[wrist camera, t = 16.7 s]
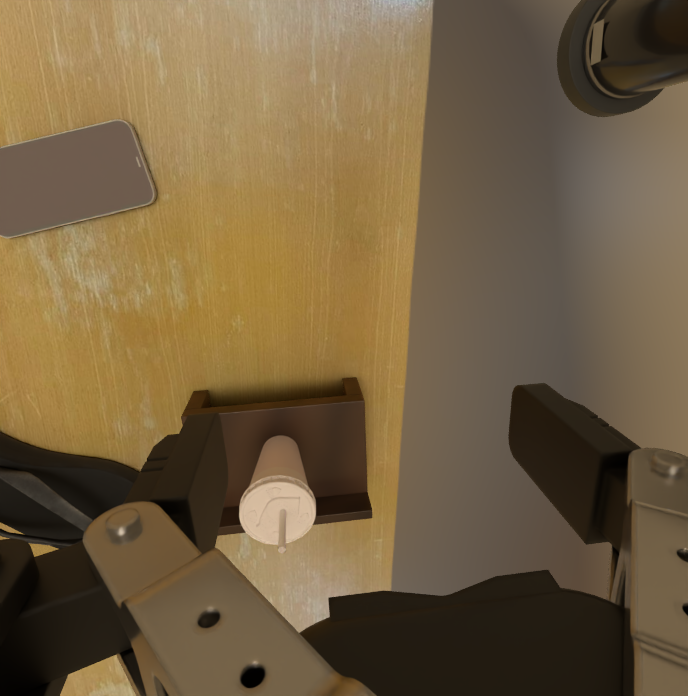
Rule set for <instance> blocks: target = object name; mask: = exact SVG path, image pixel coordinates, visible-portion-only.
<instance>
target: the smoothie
mask: <svg viewBox="0 0 688 696" xmlns="http://www.w3.org/2000/svg"><path fill="white" fill-rule="evenodd" d="M315 516H316V500H315V497H314V495H313V492H312V491H311V490H310V488H309V487H308V483H307V480H306V476H305V472H304V468H303V464H302V461H301V457H300V453H299V449H298V446H297V444H296V442H295V441H294V440H293V439H291V438H290V437H287V436H274V437H272V438H270V439H269V440H267V441H266V442H265V444H264V446H263V448H262V451H261V454H260V457H259V460H258V463H257V465H256V468H255V471H254V474H253V477H252V480H251V483H250V485H249V487H248V488H247V490H246V491H245V492H244V494H243V496H242V498H241V501H240V506H239V519H240V523H241V525H242V527H243V529H244V530H245V532H246V533H247V534H248V535H249V536H251V537H252V538H253V539H255V540H257V541H259V542H262V543H265V544H272V545H278V552H279V553H284V552H285V551H286V543H290V542H293V541H295V540H297V539H299V538H301V537H302V536H303V535H305V534H306V533H307V532H308V531H309V529H310V528H311V527H312V525H313V523H314V520H315Z"/></svg>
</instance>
